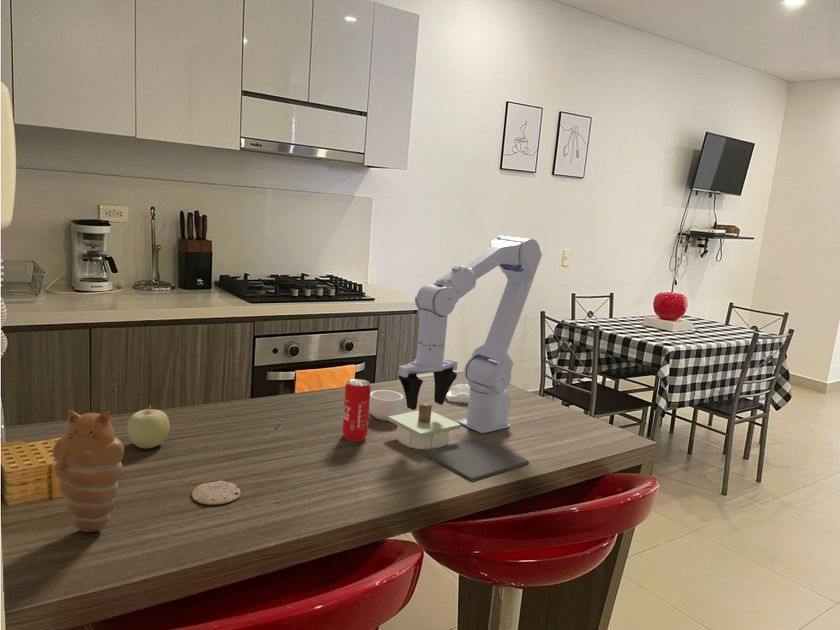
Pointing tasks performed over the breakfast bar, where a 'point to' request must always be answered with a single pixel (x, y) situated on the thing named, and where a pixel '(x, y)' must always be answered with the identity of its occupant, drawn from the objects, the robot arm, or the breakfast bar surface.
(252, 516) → the breakfast bar surface
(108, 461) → the cat ice cream
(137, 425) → the fruit
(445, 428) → the lid
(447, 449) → the mat
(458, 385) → the white rounded piece
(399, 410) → the teacup
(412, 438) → the bowl
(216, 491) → the flatbread
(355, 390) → the beverage can
